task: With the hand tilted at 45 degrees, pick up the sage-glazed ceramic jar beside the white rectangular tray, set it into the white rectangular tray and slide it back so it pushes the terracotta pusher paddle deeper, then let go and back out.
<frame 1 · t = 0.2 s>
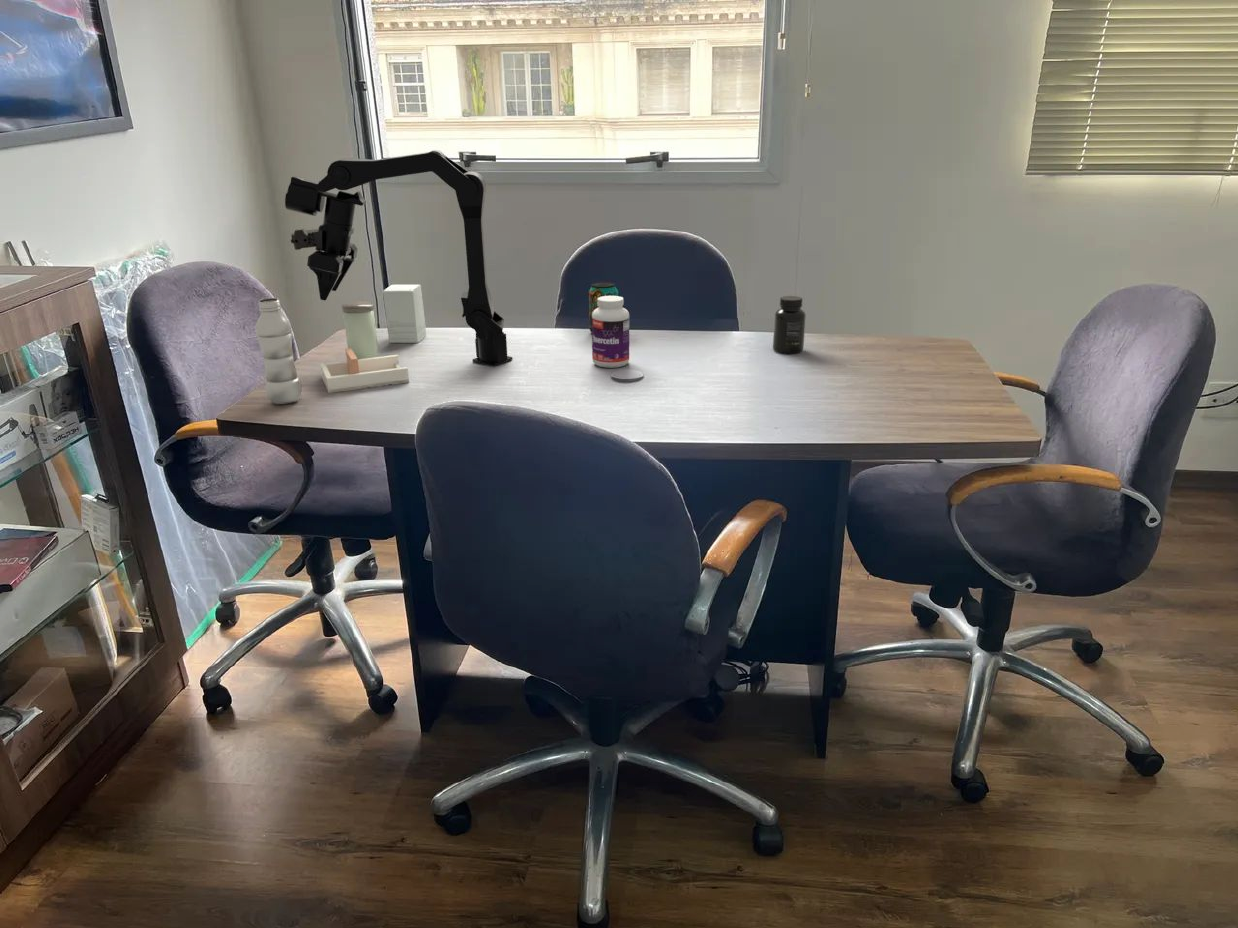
hand: (328, 295, 188), 16 cm above the table, tool tilted 15°, fingers open, 9 cm apart
beverage can: (604, 333, 218), on the table
pusher paddle: (352, 365, 183), point 3 cm above the table, slide at 0.0 cm
supplement box: (407, 340, 214), on the table
supplement bottle: (787, 351, 202), on the table
white rectangular tray: (365, 380, 185), on the table
ceramic jar: (364, 363, 196), on the table
pill bottle: (611, 364, 194), on the table
plastic bottle: (286, 403, 172), on the table
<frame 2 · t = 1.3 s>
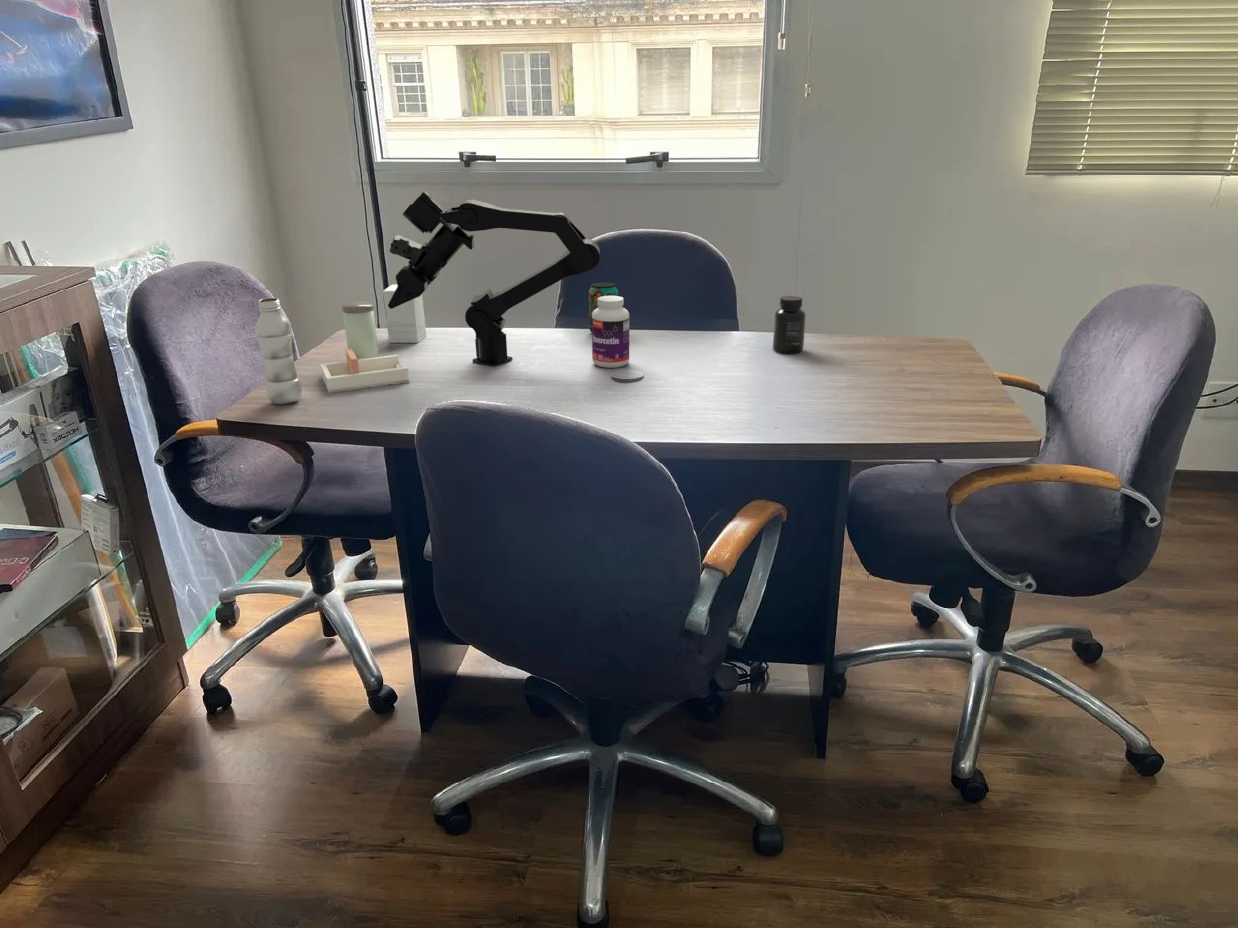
hand: (394, 302, 191), 13 cm above the table, tool tilted 45°, fingers open, 9 cm apart
nothing on the table moved.
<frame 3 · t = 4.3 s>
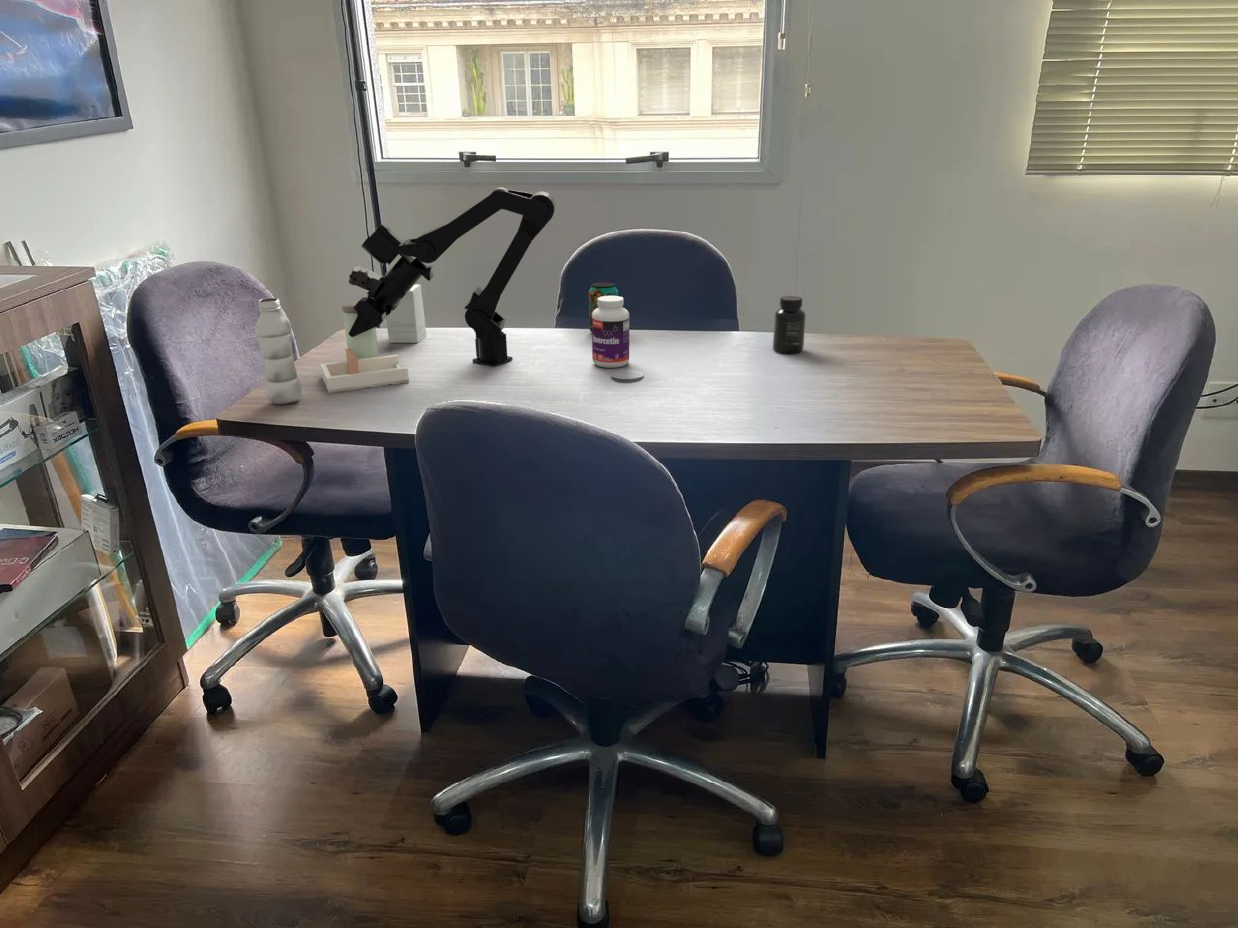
hand: (354, 331, 193), 7 cm above the table, tool tilted 45°, fingers closed on ceramic jar, 6 cm apart
ceramic jar: (364, 363, 196), on the table, touching gripper
everything else where it was.
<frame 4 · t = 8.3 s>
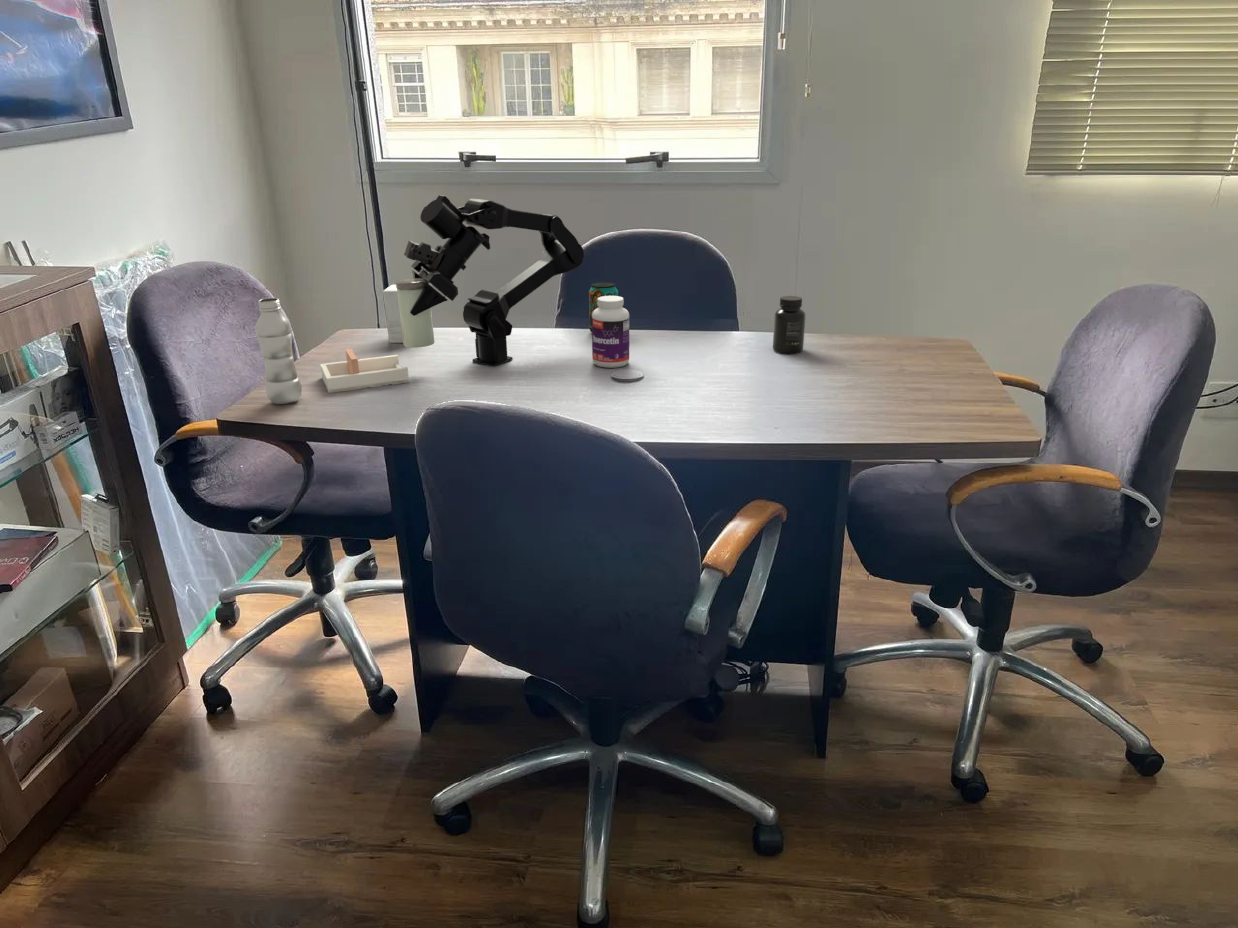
hand: (408, 310, 184), 13 cm above the table, tool tilted 45°, fingers closed on ceramic jar, 6 cm apart
ceramic jar: (419, 343, 187), point 6 cm above the table, touching gripper
everything else where it was.
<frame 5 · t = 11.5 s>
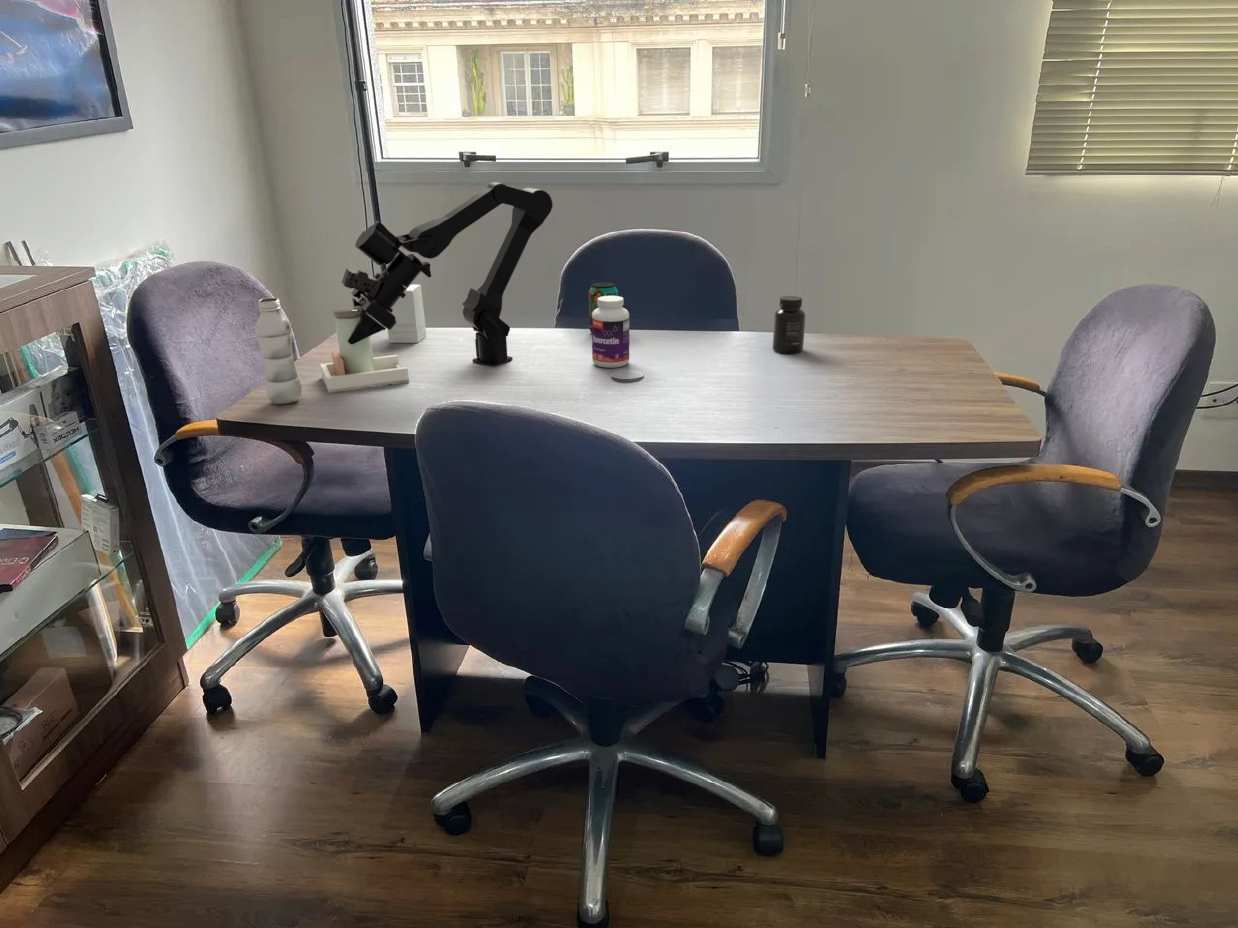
hand: (347, 339, 180), 9 cm above the table, tool tilted 45°, fingers closed on ceramic jar, 6 cm apart
pusher paddle: (338, 367, 182), point 3 cm above the table, slide at 2.8 cm
ceramic jar: (358, 371, 184), point 2 cm above the table, touching gripper
everything else where it was.
when the fingers open (9 cm above the table, at t = 12.6 s): ceramic jar drops 1 cm, resting on white rectangular tray.
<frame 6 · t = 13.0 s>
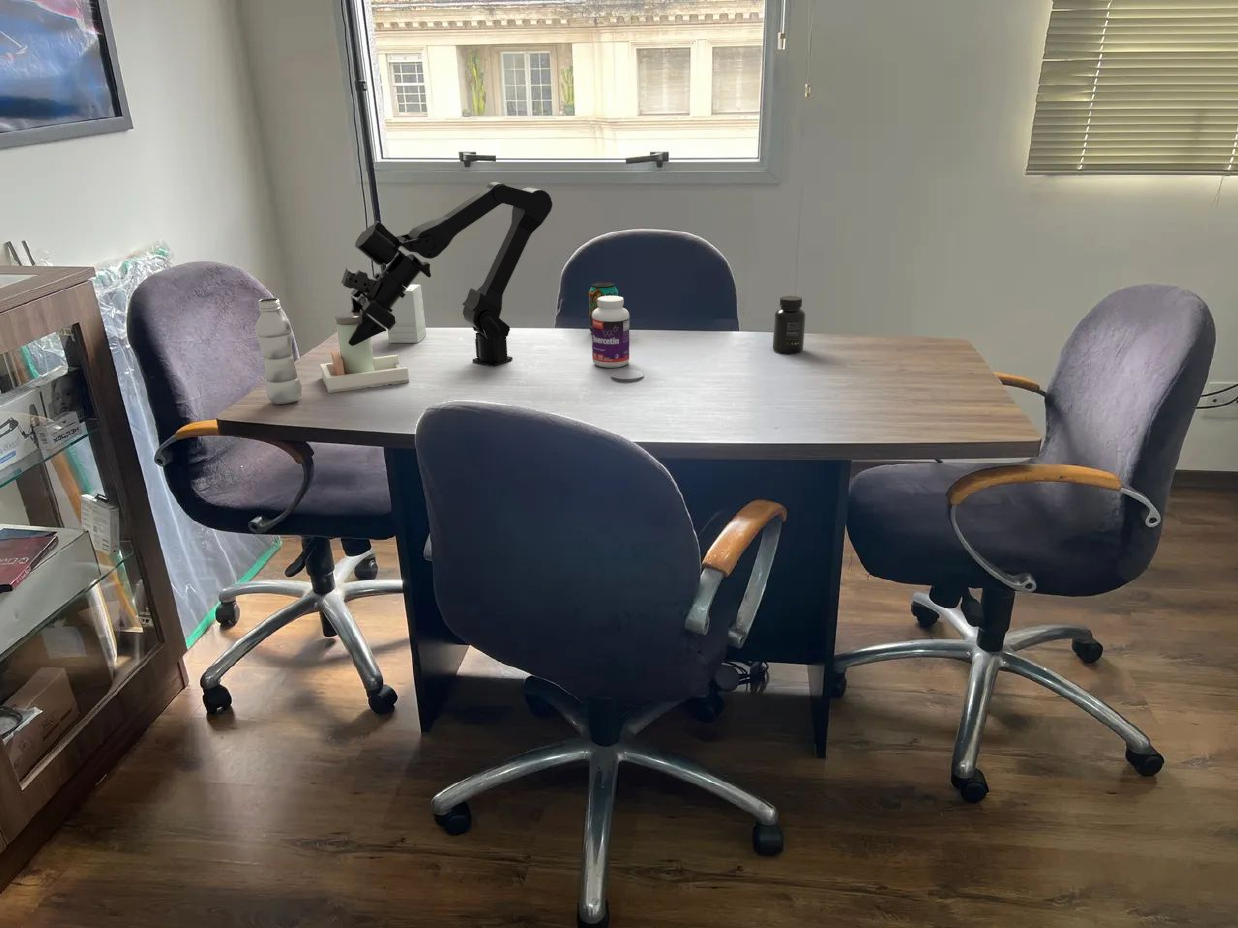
hand: (346, 339, 180), 9 cm above the table, tool tilted 45°, fingers open, 9 cm apart
ceramic jar: (359, 377, 184), point 1 cm above the table, touching white rectangular tray
everything else where it was.
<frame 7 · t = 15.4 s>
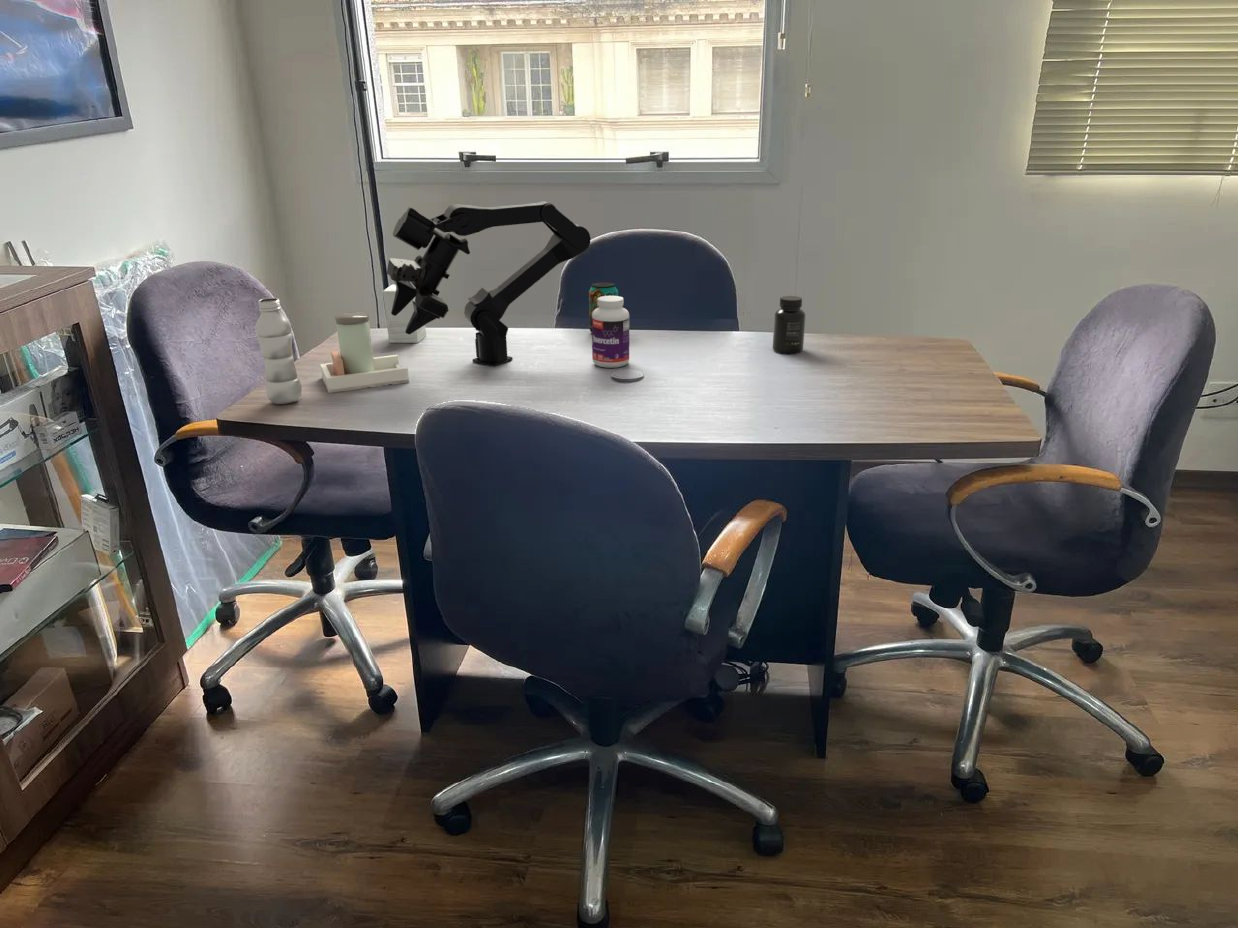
hand: (400, 324, 188), 10 cm above the table, tool tilted 35°, fingers open, 9 cm apart
nothing on the table moved.
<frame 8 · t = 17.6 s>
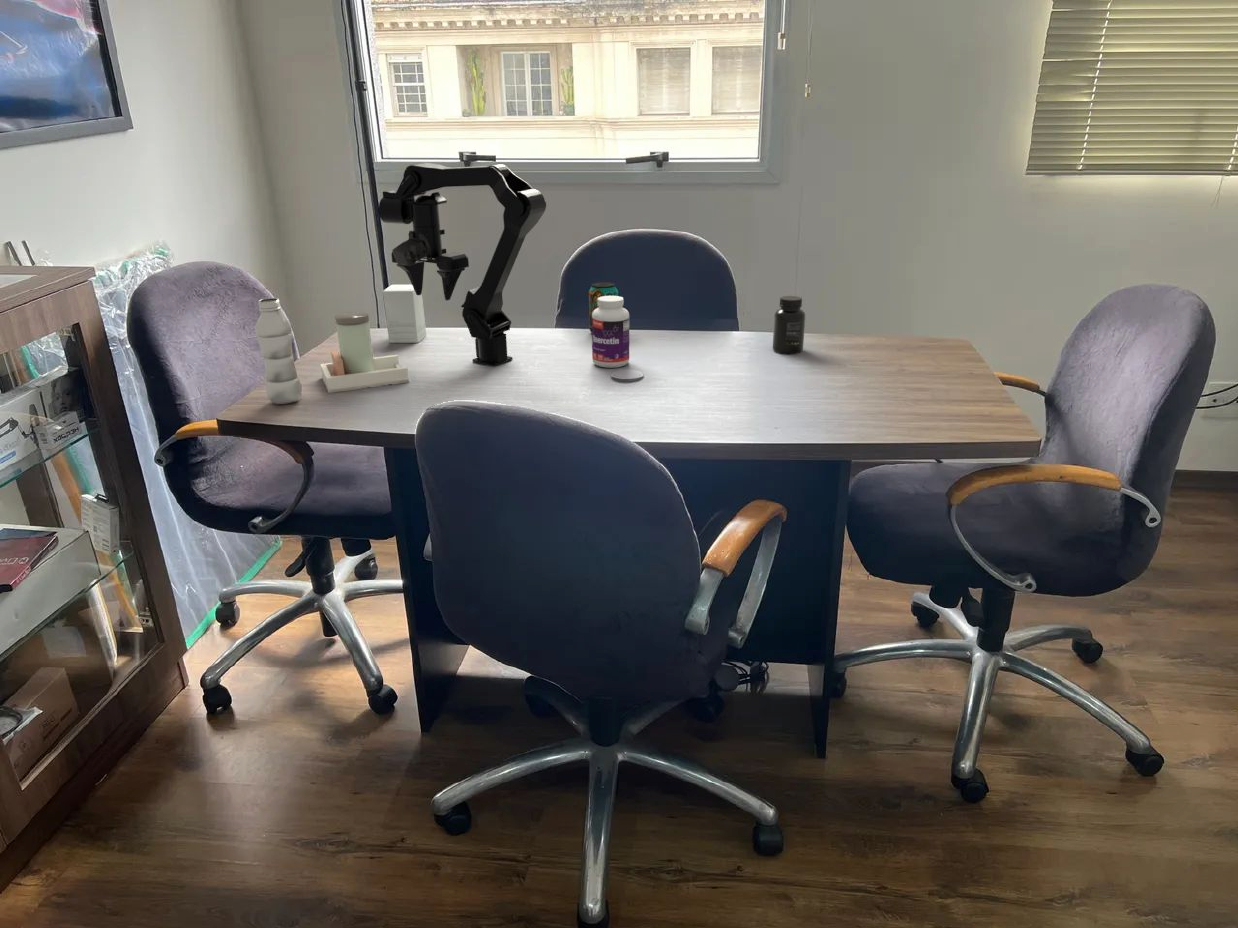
hand: (433, 297, 197), 13 cm above the table, tool pointing down, fingers open, 9 cm apart
nothing on the table moved.
at the end: ceramic jar inside the target area on the white rectangular tray (1.0 cm from its centre), point 0.6 cm above the white rectangular tray's base; pusher paddle slide at 2.9 cm; ceramic jar tilted 1° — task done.
